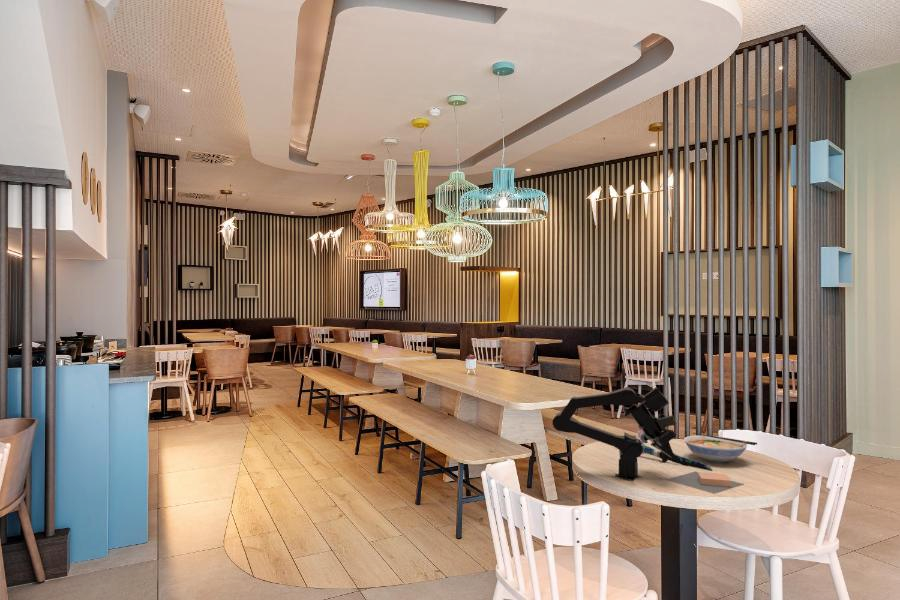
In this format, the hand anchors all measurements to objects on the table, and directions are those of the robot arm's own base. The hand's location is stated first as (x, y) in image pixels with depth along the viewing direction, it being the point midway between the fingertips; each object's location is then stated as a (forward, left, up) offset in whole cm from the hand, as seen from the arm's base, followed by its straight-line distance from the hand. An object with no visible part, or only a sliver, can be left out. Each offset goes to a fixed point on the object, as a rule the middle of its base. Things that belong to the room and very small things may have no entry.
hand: (672, 456), depth 196 cm
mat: (+6, -8, -8) cm, 13 cm away
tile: (+5, -7, -6) cm, 10 cm away
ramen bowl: (+38, +7, -8) cm, 40 cm away
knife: (+19, +13, -8) cm, 25 cm away
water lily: (+25, +33, -8) cm, 42 cm away
